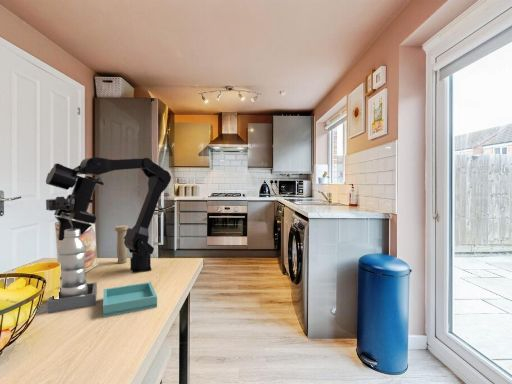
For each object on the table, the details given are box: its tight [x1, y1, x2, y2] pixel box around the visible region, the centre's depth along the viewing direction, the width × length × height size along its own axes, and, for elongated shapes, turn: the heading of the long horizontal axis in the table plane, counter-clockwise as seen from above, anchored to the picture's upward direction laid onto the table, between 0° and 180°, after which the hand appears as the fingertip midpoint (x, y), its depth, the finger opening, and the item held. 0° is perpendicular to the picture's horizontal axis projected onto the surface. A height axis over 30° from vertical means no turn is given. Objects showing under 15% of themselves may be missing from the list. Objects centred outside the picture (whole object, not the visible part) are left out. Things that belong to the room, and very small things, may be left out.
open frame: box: [46, 281, 98, 314], centre depth 81 cm, size 11×11×3 cm
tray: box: [102, 281, 158, 318], centre depth 80 cm, size 13×13×3 cm
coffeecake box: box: [54, 219, 98, 279], centre depth 108 cm, size 15×7×20 cm, turn 5°
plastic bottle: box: [58, 229, 88, 298], centre depth 81 cm, size 6×7×20 cm
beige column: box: [114, 224, 129, 264], centre depth 120 cm, size 5×6×15 cm
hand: (65, 242), depth 92 cm, fingers open, 9 cm apart
